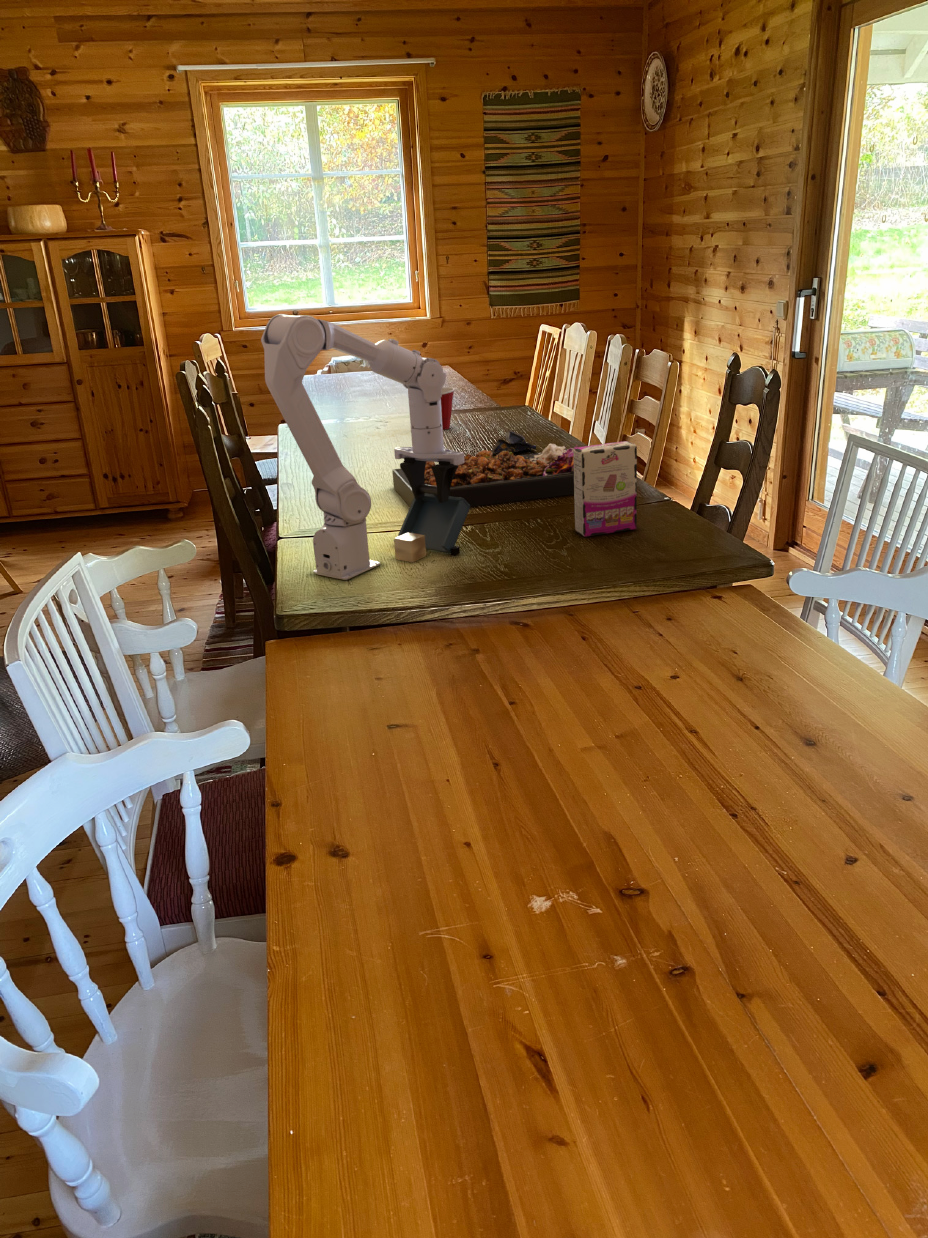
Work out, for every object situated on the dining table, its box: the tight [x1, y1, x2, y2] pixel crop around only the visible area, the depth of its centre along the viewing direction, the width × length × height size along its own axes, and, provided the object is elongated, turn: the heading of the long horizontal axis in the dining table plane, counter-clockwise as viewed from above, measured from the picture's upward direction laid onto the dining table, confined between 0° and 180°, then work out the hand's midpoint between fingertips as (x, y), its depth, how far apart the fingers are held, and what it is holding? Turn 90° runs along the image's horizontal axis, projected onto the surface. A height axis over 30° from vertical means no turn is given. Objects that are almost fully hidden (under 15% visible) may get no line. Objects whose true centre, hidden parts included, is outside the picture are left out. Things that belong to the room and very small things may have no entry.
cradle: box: [450, 545, 461, 557], centre depth 171 cm, size 2×14×1 cm, turn 54°
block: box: [393, 533, 427, 563], centre depth 167 cm, size 4×4×4 cm
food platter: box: [391, 443, 578, 508], centre depth 209 cm, size 45×25×10 cm, turn 105°
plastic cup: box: [441, 386, 456, 431], centre depth 283 cm, size 11×11×12 cm
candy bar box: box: [572, 440, 638, 538], centre depth 173 cm, size 11×5×16 cm, turn 106°
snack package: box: [490, 430, 538, 456], centre depth 246 cm, size 12×6×12 cm
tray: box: [396, 484, 472, 554], centre depth 170 cm, size 10×11×6 cm
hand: (431, 499), depth 169 cm, fingers closed on tray, 5 cm apart
